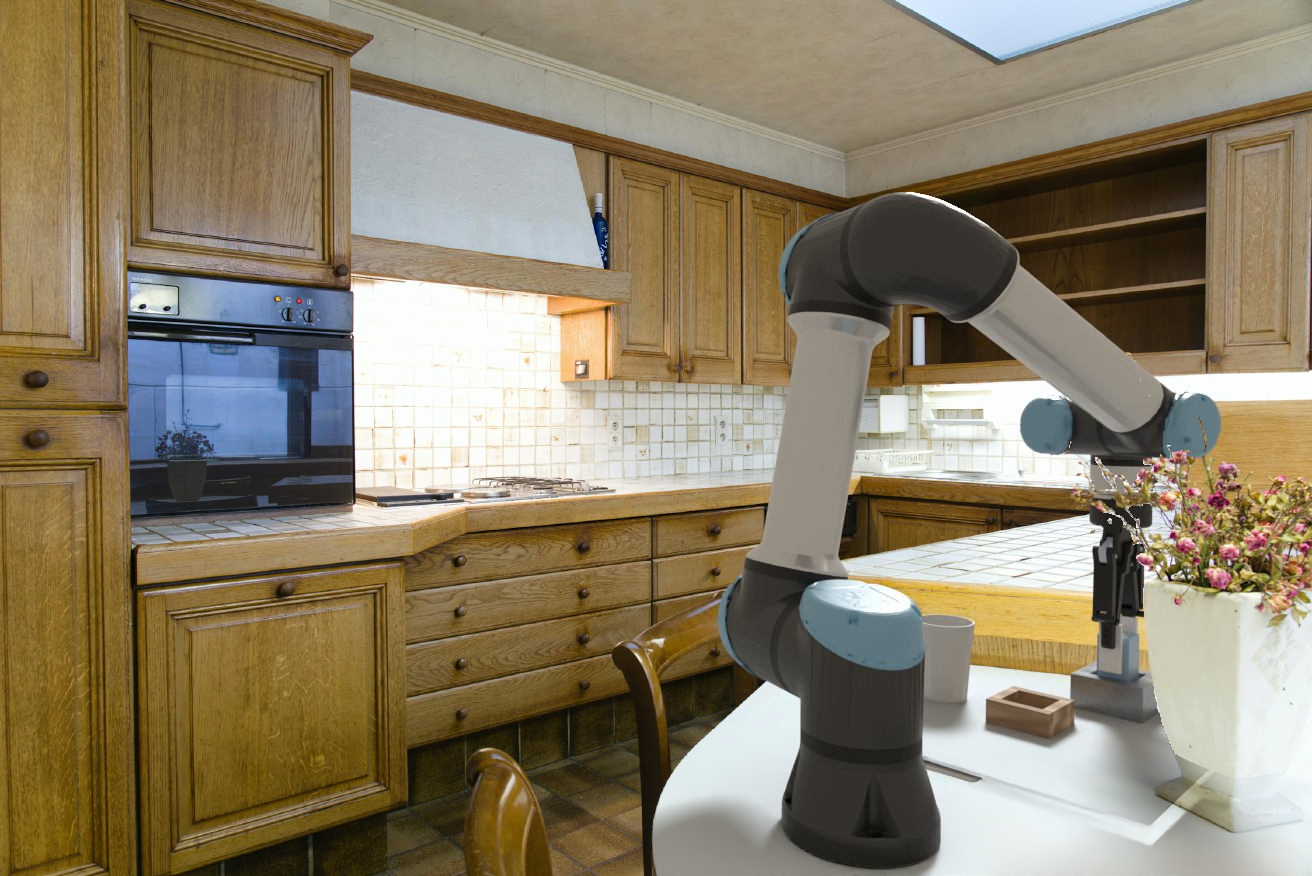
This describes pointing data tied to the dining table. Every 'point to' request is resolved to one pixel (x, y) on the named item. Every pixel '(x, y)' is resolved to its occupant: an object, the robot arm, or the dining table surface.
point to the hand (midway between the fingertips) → (1118, 667)
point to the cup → (947, 657)
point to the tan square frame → (1030, 711)
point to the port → (1114, 694)
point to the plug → (1125, 659)
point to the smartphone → (950, 772)
